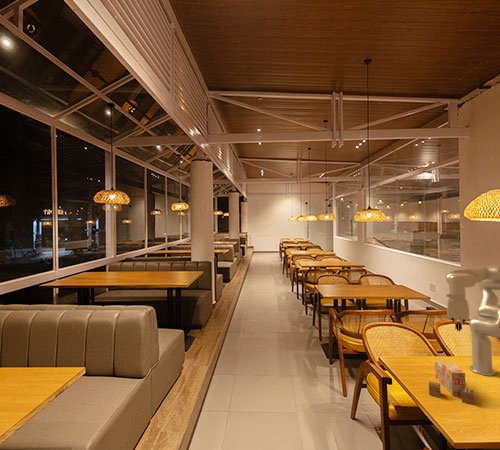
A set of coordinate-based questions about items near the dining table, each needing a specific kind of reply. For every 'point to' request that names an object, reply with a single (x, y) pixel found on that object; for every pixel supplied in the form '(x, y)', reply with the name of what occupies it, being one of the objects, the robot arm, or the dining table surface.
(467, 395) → the walnut cube two
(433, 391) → the walnut cube one
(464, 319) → the robot arm
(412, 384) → the dining table surface
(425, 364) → the dining table surface
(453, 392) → the stack of blocks
